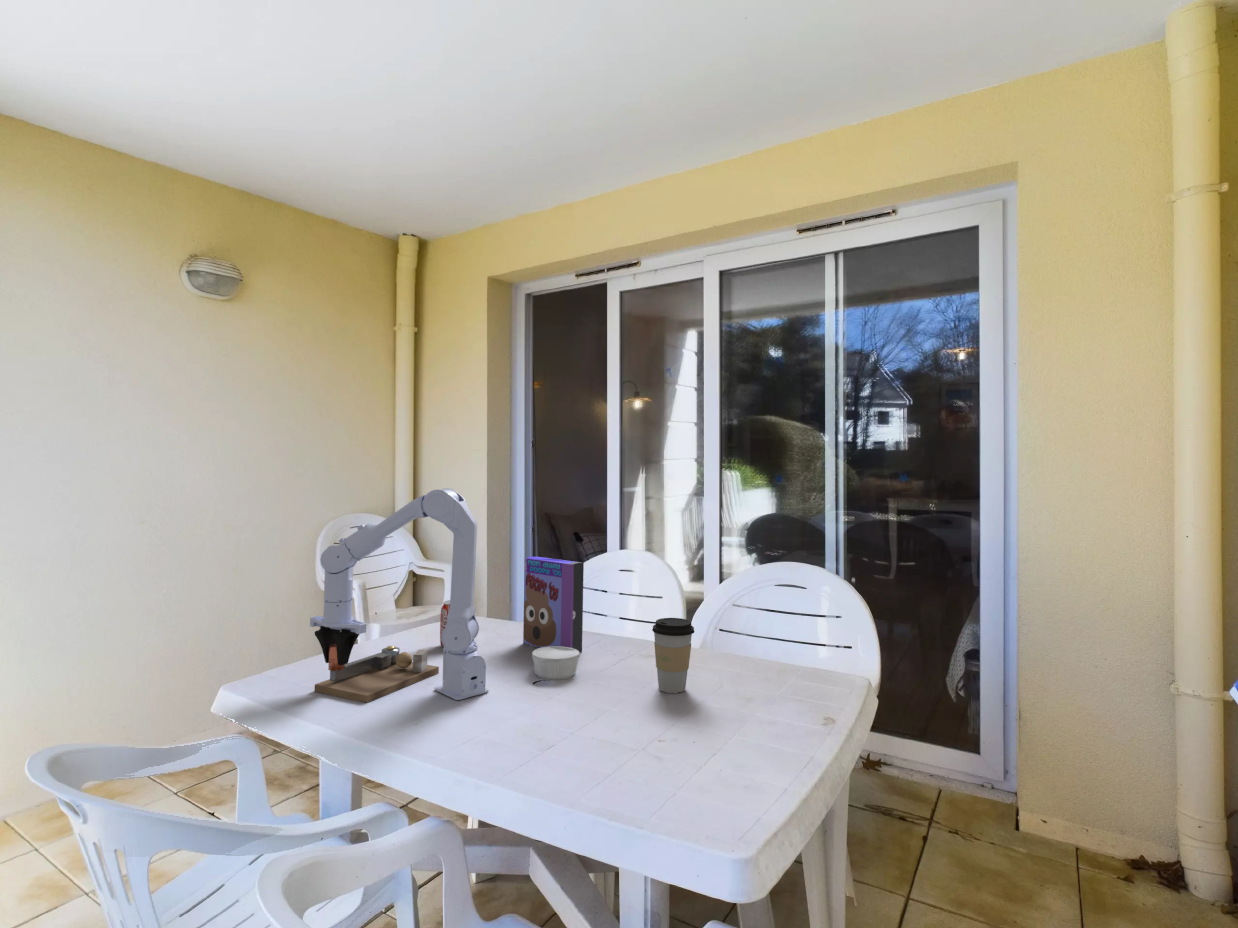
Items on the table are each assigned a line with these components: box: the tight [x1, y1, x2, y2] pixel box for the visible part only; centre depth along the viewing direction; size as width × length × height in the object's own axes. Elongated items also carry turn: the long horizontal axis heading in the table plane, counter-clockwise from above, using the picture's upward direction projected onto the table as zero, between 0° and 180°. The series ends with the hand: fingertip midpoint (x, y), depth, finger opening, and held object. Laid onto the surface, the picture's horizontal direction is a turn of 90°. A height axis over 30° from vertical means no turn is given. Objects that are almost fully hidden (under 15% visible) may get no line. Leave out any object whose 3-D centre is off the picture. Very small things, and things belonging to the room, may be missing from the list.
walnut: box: [396, 651, 413, 668], centre depth 150 cm, size 4×4×4 cm
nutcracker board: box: [314, 649, 440, 704], centre depth 145 cm, size 22×15×6 cm
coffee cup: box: [651, 617, 695, 694], centre depth 144 cm, size 9×9×15 cm
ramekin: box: [531, 646, 580, 681], centre depth 153 cm, size 11×11×5 cm
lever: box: [328, 644, 401, 682], centre depth 147 cm, size 20×5×8 cm, turn 156°
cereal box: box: [522, 556, 585, 654], centre depth 176 cm, size 17×5×24 cm, turn 53°
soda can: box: [439, 599, 450, 648], centre depth 175 cm, size 7×7×12 cm
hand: (336, 662), depth 139 cm, fingers closed on lever, 3 cm apart
